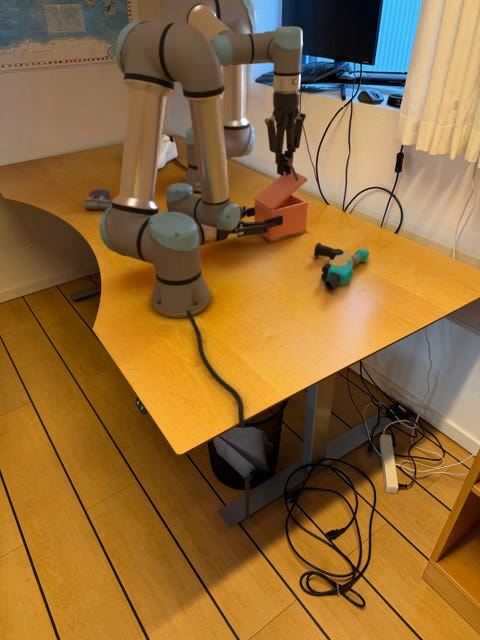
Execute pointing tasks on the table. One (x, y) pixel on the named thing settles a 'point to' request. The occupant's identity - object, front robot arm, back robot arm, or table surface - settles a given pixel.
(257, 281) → the table surface
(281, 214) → the chest
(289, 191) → the lid
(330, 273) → the toy gun
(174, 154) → the sneaker
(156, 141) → the front robot arm
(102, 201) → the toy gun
